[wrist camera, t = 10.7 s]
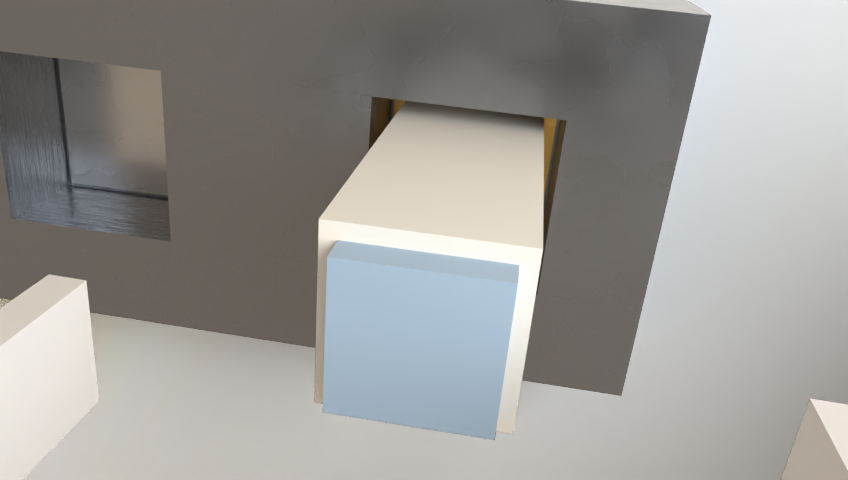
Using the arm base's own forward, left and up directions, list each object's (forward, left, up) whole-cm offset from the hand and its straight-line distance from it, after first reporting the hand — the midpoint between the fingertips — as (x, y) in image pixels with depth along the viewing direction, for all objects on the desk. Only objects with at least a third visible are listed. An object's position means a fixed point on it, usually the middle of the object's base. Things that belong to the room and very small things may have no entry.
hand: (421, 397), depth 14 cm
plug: (0, 0, -13) cm, 13 cm away
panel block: (+6, 0, -14) cm, 16 cm away
